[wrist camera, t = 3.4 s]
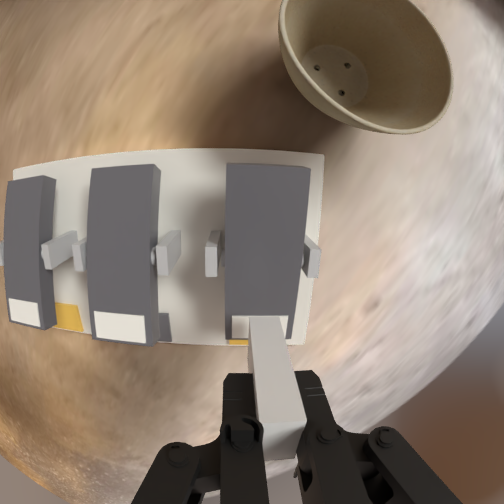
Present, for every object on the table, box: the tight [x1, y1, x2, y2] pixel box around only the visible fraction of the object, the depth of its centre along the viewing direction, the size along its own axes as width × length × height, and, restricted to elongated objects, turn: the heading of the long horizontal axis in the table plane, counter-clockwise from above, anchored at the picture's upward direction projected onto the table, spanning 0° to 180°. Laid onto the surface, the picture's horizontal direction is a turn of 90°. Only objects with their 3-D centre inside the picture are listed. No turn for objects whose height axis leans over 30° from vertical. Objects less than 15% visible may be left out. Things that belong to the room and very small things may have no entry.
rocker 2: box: [86, 164, 161, 347], centre depth 14 cm, size 10×4×2 cm, turn 178°
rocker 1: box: [4, 175, 57, 330], centre depth 14 cm, size 10×4×2 cm, turn 178°
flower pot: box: [278, 0, 453, 134], centre depth 12 cm, size 10×10×7 cm
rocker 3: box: [221, 162, 311, 340], centre depth 15 cm, size 10×4×2 cm, turn 178°
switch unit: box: [0, 148, 325, 346], centre depth 16 cm, size 14×24×5 cm, turn 88°
